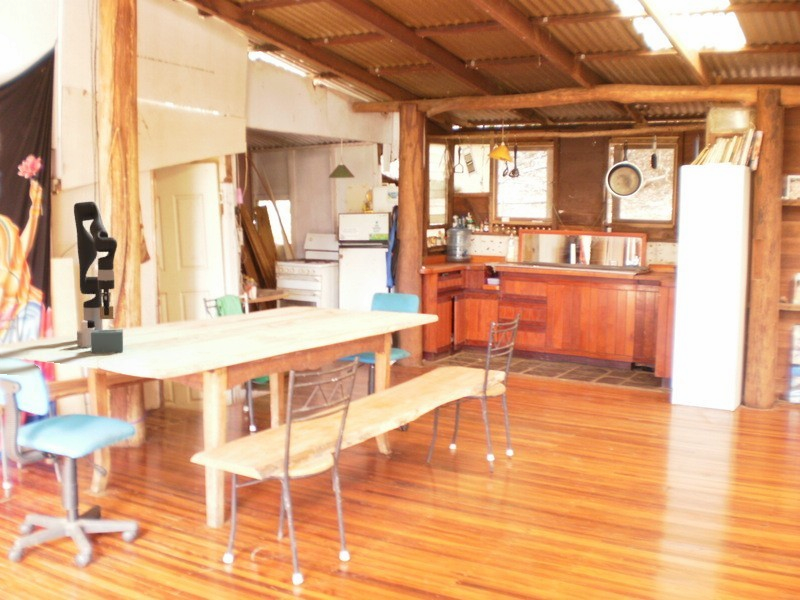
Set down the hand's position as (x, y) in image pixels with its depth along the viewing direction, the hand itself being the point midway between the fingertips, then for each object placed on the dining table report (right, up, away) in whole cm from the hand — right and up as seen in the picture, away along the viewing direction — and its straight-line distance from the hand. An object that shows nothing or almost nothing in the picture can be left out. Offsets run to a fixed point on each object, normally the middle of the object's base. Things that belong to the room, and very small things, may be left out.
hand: (106, 314), depth 395 cm
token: (0, -2, 0) cm, 2 cm away
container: (-15, -16, +17) cm, 28 cm away
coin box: (0, -18, +2) cm, 18 cm away
